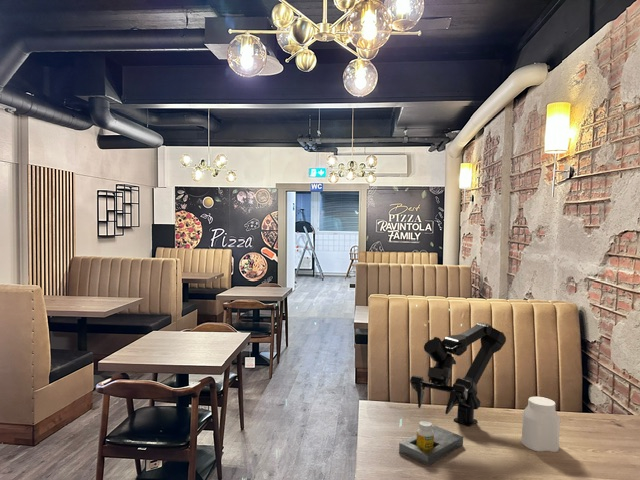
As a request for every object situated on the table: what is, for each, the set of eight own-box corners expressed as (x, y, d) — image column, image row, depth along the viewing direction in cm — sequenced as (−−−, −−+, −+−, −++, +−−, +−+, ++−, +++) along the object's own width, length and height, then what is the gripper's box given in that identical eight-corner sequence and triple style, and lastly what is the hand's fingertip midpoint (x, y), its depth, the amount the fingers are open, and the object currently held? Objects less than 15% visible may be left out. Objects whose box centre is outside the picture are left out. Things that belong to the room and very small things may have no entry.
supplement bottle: (424, 446, 152) (425, 418, 152) (436, 453, 148) (437, 424, 147) (412, 451, 149) (413, 422, 149) (424, 458, 145) (426, 428, 144)
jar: (529, 451, 151) (531, 406, 150) (516, 437, 160) (518, 395, 160) (564, 452, 151) (566, 407, 150) (550, 438, 160) (551, 396, 160)
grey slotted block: (434, 433, 162) (434, 425, 162) (462, 445, 154) (463, 436, 154) (399, 451, 148) (399, 442, 148) (427, 465, 140) (428, 456, 140)
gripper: (412, 352, 162) (399, 393, 153) (466, 361, 152) (456, 405, 143) (419, 368, 169) (407, 408, 160) (471, 378, 159) (462, 421, 150)
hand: (432, 410), depth 153 cm, fingers open, 9 cm apart
